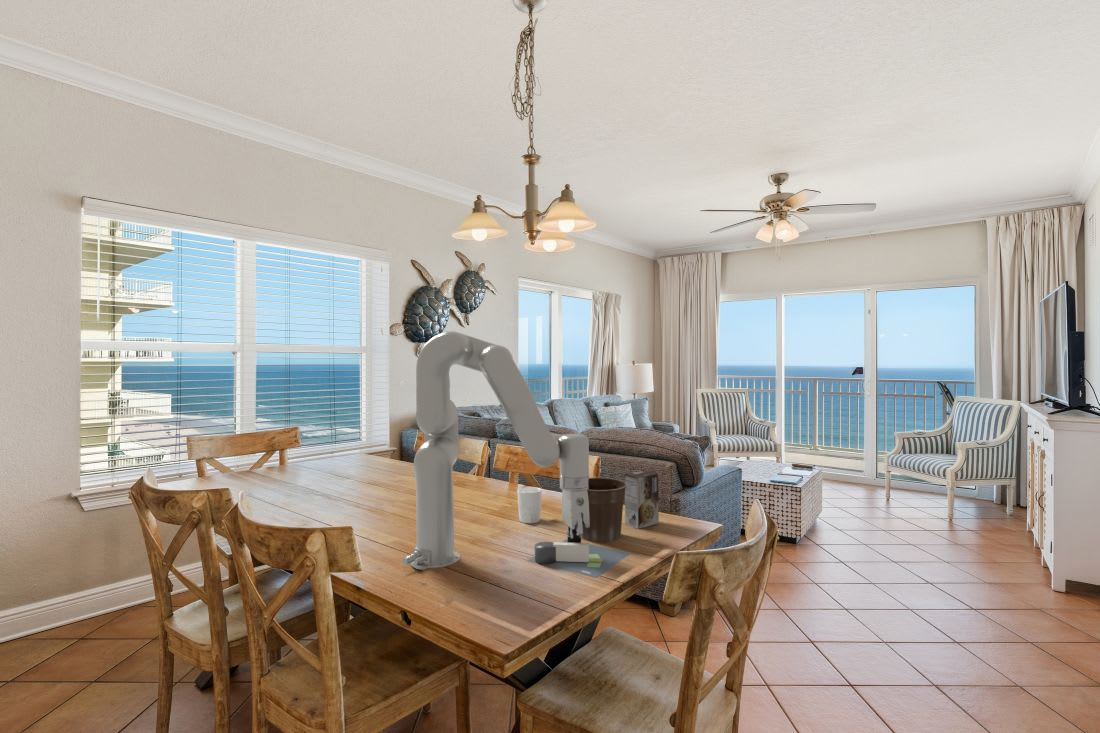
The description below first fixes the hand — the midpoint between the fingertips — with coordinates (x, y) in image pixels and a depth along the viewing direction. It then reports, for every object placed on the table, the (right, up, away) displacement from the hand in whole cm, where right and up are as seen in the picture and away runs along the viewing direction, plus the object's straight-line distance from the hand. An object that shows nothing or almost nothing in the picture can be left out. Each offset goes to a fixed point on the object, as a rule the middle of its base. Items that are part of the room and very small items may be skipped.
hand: (574, 552), depth 142 cm
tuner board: (+1, -2, 0) cm, 3 cm away
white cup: (-13, -2, +35) cm, 37 cm away
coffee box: (+23, -2, +30) cm, 38 cm away
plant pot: (+8, -2, +17) cm, 19 cm away
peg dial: (-2, -1, -3) cm, 4 cm away
